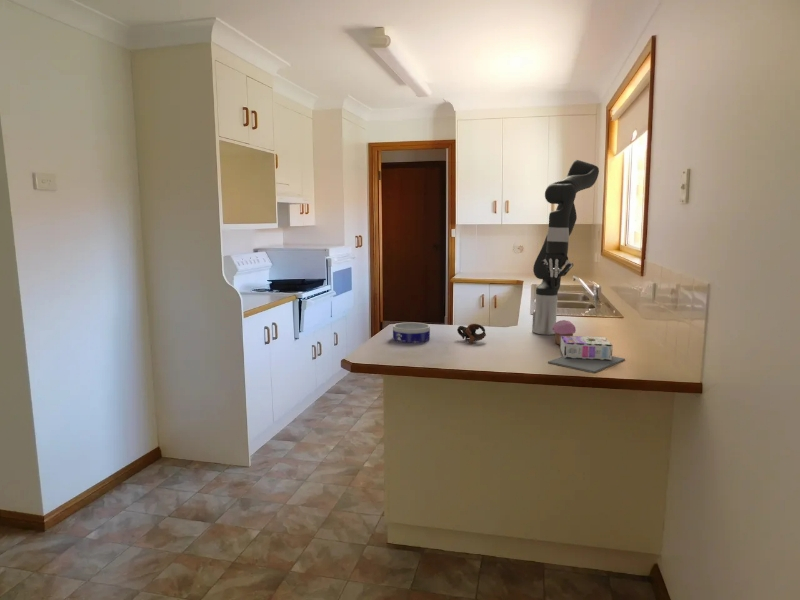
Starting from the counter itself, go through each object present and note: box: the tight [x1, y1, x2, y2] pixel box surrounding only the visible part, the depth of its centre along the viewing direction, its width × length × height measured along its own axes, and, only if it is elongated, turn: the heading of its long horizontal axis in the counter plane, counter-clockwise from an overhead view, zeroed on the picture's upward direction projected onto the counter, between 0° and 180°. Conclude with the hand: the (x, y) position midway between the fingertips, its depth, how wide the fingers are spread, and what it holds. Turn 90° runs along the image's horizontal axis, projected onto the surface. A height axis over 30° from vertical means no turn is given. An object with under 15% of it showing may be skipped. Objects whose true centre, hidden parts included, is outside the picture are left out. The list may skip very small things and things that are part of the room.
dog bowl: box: [392, 321, 431, 344], centre depth 227 cm, size 15×15×6 cm
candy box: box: [560, 335, 613, 360], centre depth 201 cm, size 14×6×16 cm
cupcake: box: [552, 319, 577, 346], centre depth 220 cm, size 9×9×10 cm
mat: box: [547, 355, 626, 374], centre depth 195 cm, size 17×24×1 cm
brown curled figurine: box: [456, 323, 487, 344], centre depth 225 cm, size 12×10×8 cm
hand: (554, 287), depth 202 cm, fingers closed
